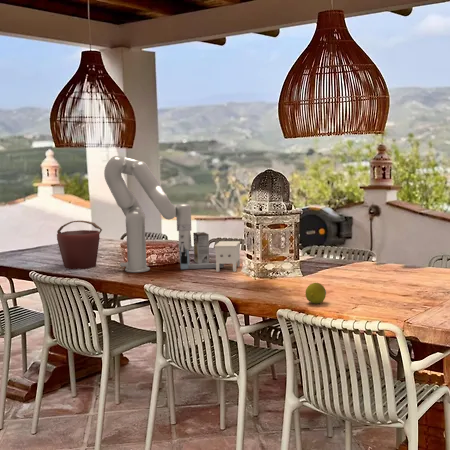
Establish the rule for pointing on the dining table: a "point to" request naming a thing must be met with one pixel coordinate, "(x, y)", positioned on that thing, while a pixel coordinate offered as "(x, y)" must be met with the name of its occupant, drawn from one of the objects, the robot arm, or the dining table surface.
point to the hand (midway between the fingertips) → (185, 262)
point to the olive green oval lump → (315, 293)
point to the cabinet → (227, 253)
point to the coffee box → (201, 247)
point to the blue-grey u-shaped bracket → (196, 266)
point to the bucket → (79, 247)
